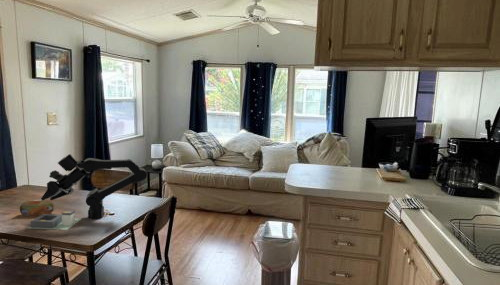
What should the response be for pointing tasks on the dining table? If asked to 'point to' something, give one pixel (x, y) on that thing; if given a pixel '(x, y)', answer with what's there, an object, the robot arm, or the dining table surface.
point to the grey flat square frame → (46, 221)
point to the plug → (68, 217)
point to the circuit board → (60, 226)
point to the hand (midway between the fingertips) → (46, 199)
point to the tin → (37, 207)
